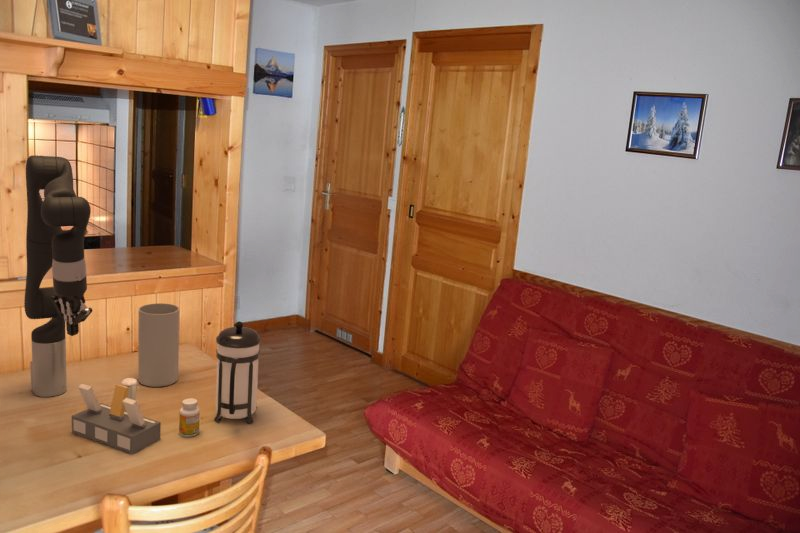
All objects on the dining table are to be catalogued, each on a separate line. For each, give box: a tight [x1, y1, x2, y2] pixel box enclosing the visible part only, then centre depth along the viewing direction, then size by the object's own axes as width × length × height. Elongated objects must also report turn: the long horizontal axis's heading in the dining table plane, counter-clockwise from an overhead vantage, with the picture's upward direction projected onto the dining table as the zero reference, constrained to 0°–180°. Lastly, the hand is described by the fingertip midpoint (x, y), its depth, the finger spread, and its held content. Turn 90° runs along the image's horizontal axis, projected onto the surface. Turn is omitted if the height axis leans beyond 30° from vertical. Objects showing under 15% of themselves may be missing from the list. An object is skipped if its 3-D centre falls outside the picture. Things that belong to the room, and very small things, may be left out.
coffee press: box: [213, 321, 262, 425], centre depth 194 cm, size 17×16×30 cm
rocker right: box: [122, 398, 146, 428], centre depth 174 cm, size 4×1×9 cm, turn 67°
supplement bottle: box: [178, 397, 201, 438], centre depth 185 cm, size 5×5×10 cm
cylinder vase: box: [137, 302, 180, 388], centre depth 216 cm, size 12×12×25 cm
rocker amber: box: [109, 384, 129, 420], centre depth 180 cm, size 4×1×9 cm, turn 67°
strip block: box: [71, 402, 162, 455], centre depth 180 cm, size 22×10×5 cm, turn 67°
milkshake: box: [120, 377, 139, 401], centre depth 197 cm, size 5×5×10 cm
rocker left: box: [77, 383, 102, 413], centre depth 180 cm, size 4×1×9 cm, turn 67°
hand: (72, 334), depth 169 cm, fingers closed
